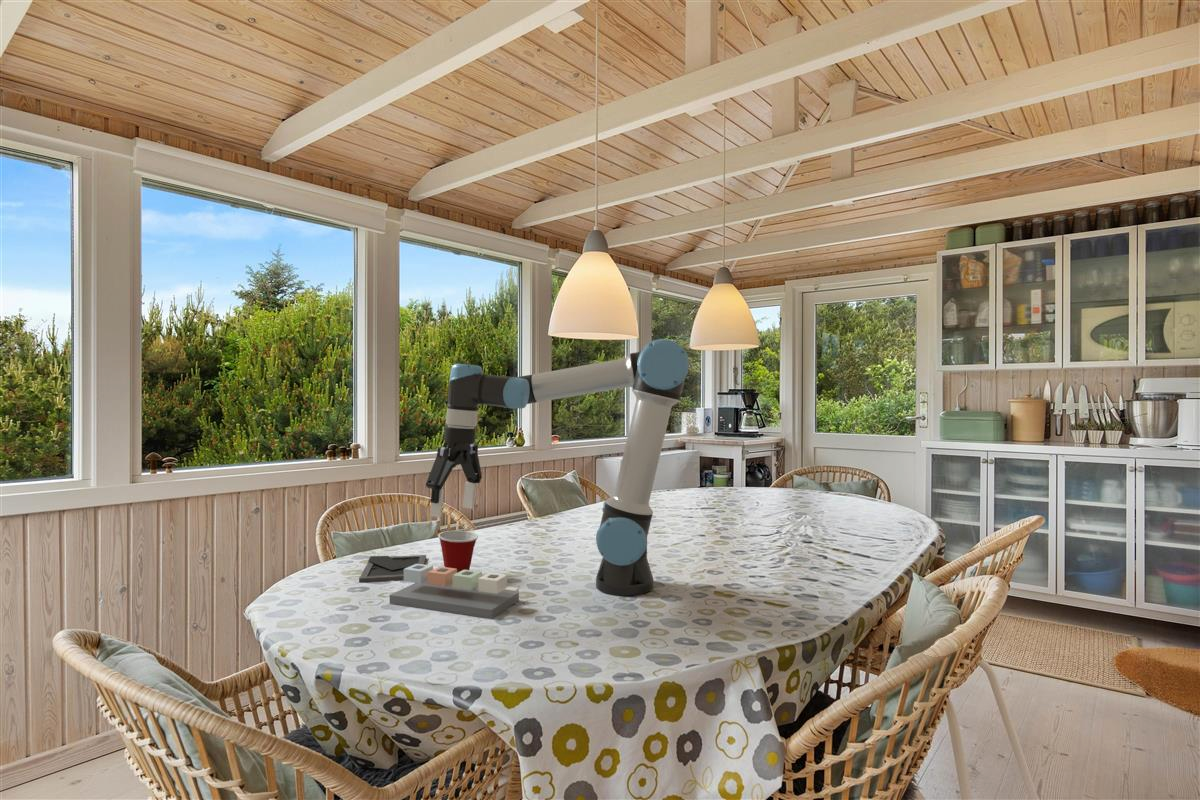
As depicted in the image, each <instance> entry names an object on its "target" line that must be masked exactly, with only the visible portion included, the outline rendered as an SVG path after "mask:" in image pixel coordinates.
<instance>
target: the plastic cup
mask: <svg viewBox="0 0 1200 800" xmlns="http://www.w3.org/2000/svg"><path fill="white" fill-rule="evenodd" d="M437 536H438V539H439V543H440V547H441V552H442V560H443V567H447V568H455V569H457V573H458V572H460V571H462V570H470V569H471V565H472V560H473V554H474V549H475V548H474V547H475V545H476V542H477V539H479V535H478V533H475V532H473V531H467V530H446V531H443V532H439V533H438V534H437Z"/></svg>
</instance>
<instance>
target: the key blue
mask: <svg viewBox="0 0 1200 800" xmlns="http://www.w3.org/2000/svg"><path fill="white" fill-rule="evenodd" d="M433 569H434V566H433V565H431V564H430V565H429V564H425V565H423V564H414V565H412V566H410V567H407V568H405V569H404V580H403V582H408V583H413V584H414V583H423V582H425V581H427V580H428V572H429V571H431V570H433Z"/></svg>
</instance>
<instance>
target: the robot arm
mask: <svg viewBox="0 0 1200 800" xmlns="http://www.w3.org/2000/svg"><path fill="white" fill-rule="evenodd" d="M689 368H690V359H689V355H688V353H687V351H686V350H685V348H683V346H682V345H681V344H679V343H678V342H676V341H674V340H671V339H664V338H661V339H660V338H659V339H655V340H652V341H650V342H649V343H647V344H645V346H643V348H642V349H641V350H639V351H637V352H630V353H629V354H628V355H627V356H626V357H625V358H618V359H613V360H607V361H603V362H595V363H591V364H590V363H589V364H584V365H579V366H574V367H568V368H563V369H557V370H551V371H545V372H539V373H534V374H533V373H532V374H528V375H522V376H506V375H505V376H504V375H492V374H486V373H483V368H482V367H481V366H480V365H476V364H475V365H474V364H466V363H464V364H463V363H454V364H452V366H451V369H450V375H449V381H448V394H447V405H446V415H445V416H446V417H445V424H446V426H445V427H444V435H443V440H444V442H446V444H447V445H446V446H438V447H437V452H436V457H435V459H434V462H433V465H432V467H431V470H430V472H429V474H428V478H427V479H426V483H425V486H426V487H427V488H428V489H431V493H430V495H431V496H430V512H429V516H430V517H434V518H435V517H436V518H440V519H441V517H442V514H443V513H442V512H443V503H444V495H445V494H444V492H445V490H444V489H442V488H443V487H444V484H445V483H446V482H447V479H448V478H449V476H450V474H451V472H452V471H453V469H454V468H456V467H457V466H459V465H460V466H461V468H462V471H463V472H464V473H463V474H464V476H465V478H466V481H465V482H464V488H463V489H464V490H463V491H464V492H463V497H462V498H463V499H462V500H463V501H462V508H464V509H465V508H466V509H471V510H473V509H474V505H475V504H474V502H475V495H476V485H477V484H480V483H481V480H482V478H483V476H482V471H481V466H480V465H481V464H480V459H479V454H478V452H479V447H478V445H477V444H475V442H476V433H477V430H476V428H475V427H477V426H478V425H477V424H478V413H479V405H482V406H485V405H486V406H491V407H492V406H493V407H501V408H507V409H511V410H513V409H519V410H520V409H521V410H523V409H524V408H526V407H527V405H529V404H530V405H531V404H535V403H539V402H540V403H541V402H547V401H554V400H559V399H564V398H565V399H566V398H570V397H577V396H582V395H588V394H589V395H590V394H594V393H601V392H607V391H612V390H619V389H625V388H631V389H632V390H631V391H632V393H633V394H634V396H635V399H636V400H635V404H634V407H633V412H632V417H631V421H630V425H629V429H628V433H627V437H626V442H625V446H624V450H623V455H622V458H621V463H620V467H619V472H618V476H617V479H616V484H615V488H614V493H613V495H612V496H610V497H609V498H607V499H605V500H604V502H603V506H602V509H601V510H602V516H601V520H600V523H599V525H600V526H599V527H598V529H597V531H596V535H595V541H596V542H595V544H596V547H597V549H598V552H599V553H600V555H601V556H602V559H601V561H600V565H599V568H598V570H597V573H596V577H595V587H596V589H597V590H598V591H600V592H602V593H604V594H609V595H614V596H615V595H616V596H637V595H638V594H639V595H644V594H646V592H647V593H649V592H651V591H652V590H653V589H654V577H653V573H652V570H651V569H652V568H651V567H650V563H649V561H648V534H649V530H650V526H651V523H652V518H653V514H654V511H653V509H652V508H651V506H650V499H651V494H652V491H653V486H654V482H655V479H656V474H657V469H658V465H659V462H660V458H661V452H662V450H663V449H662V448H663V445H664V440H665V437H666V432H667V428H668V423H669V419H670V415H671V410H672V407H673V406H674V405H676V404H678V403H680V402H681V397H682V393H683V390H684V385H685V381H686V380H685V379H686V377H687V375H688V374H689V371H690V370H689ZM650 590H651V591H650ZM648 591H649V592H648ZM643 593H644V594H643Z"/></svg>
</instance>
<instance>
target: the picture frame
mask: <svg viewBox="0 0 1200 800" xmlns="http://www.w3.org/2000/svg"><path fill="white" fill-rule="evenodd" d="M426 560H427V554H419V555H417V554H416V555H399V556H396V555H395V556H389V555H371V556H369V558H368V560H367V561H368V562H367V563H366V565H365V567H364V569H363V570H362V573H361V574H360V576H359V578H358V583H372V582H371V581H376V582H389V581H388V580H394V581H404V569H405V568H407V567H410V566H412V565H414V564H423V565H426ZM386 580H387V581H386Z"/></svg>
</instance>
